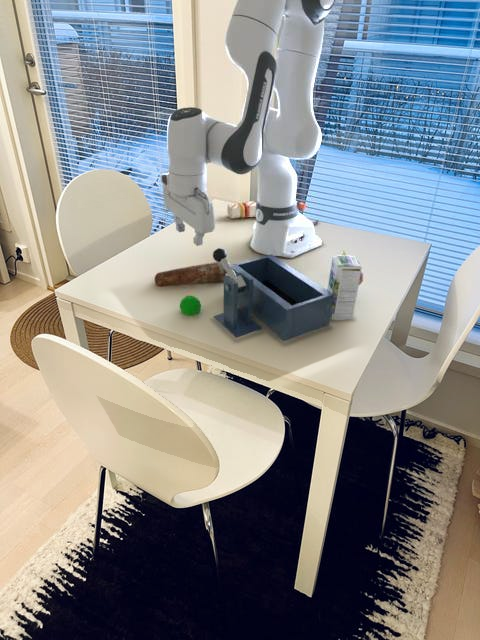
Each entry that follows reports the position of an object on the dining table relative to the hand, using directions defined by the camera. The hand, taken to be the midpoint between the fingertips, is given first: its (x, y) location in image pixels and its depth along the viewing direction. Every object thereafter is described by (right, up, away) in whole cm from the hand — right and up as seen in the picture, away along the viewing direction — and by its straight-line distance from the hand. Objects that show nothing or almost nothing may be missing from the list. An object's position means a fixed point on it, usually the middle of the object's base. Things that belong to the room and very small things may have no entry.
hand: (189, 237), depth 126 cm
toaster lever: (+10, -10, -12) cm, 18 cm away
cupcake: (+40, -13, +7) cm, 43 cm away
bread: (0, -11, +8) cm, 14 cm away
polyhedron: (+1, -19, -5) cm, 20 cm away
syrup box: (+37, -19, -3) cm, 42 cm away
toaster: (+22, -19, -3) cm, 29 cm away
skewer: (+19, +16, +51) cm, 56 cm away
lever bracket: (+12, -22, -9) cm, 27 cm away
